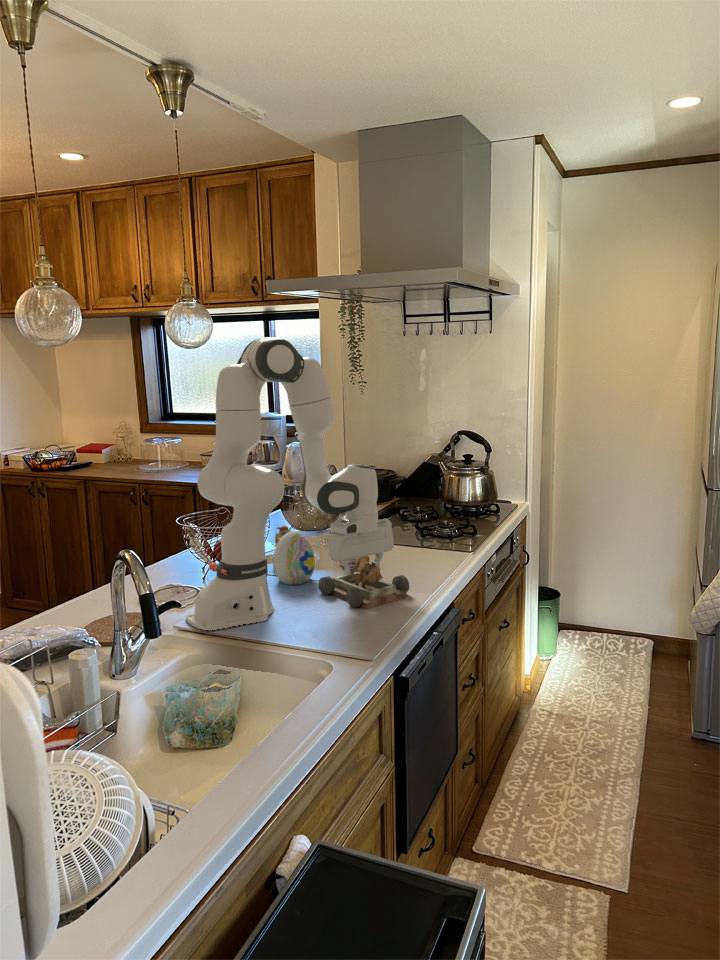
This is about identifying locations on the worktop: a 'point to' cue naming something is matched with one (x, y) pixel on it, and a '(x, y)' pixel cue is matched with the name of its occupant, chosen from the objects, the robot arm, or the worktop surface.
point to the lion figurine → (366, 571)
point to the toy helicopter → (281, 534)
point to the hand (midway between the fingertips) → (362, 571)
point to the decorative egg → (293, 559)
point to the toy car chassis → (364, 590)
